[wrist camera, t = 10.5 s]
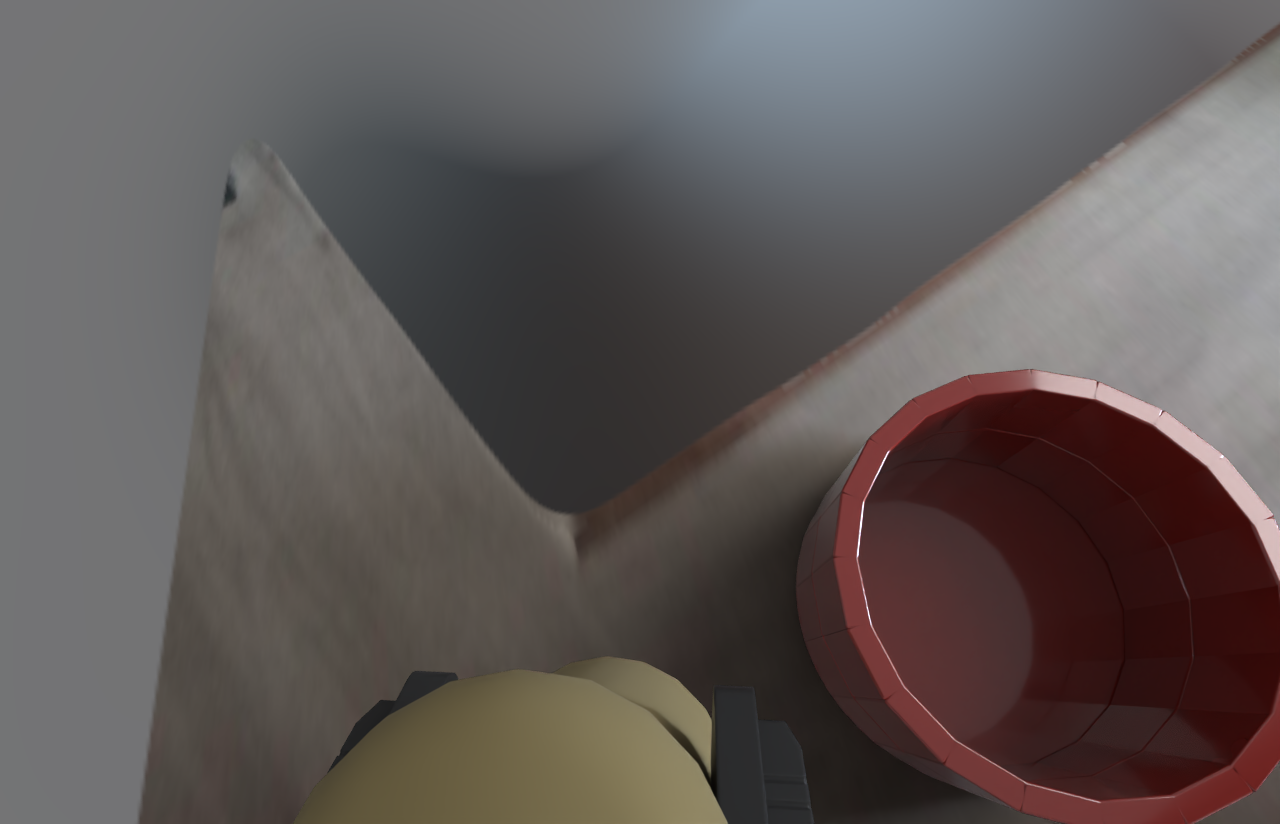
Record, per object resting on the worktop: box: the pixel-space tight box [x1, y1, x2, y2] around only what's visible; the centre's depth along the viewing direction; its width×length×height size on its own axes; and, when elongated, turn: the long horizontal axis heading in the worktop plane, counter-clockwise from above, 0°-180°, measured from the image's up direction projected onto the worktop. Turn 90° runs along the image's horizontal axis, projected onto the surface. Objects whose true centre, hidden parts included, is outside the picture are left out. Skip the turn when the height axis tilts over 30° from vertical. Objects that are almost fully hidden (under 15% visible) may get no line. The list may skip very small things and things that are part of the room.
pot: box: [796, 369, 1280, 824], centre depth 24 cm, size 14×14×8 cm
